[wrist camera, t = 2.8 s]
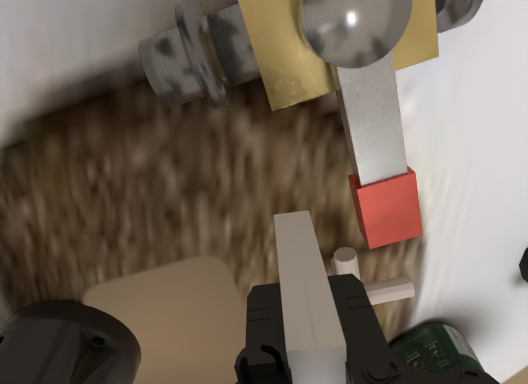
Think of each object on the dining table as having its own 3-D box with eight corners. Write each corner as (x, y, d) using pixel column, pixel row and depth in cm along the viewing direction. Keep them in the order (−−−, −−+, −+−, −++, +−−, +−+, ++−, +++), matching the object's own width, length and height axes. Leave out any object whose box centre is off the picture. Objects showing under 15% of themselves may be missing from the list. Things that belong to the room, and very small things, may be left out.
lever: (285, -26, 14) (290, -33, 12) (387, -65, 13) (406, -77, 12) (349, 234, 20) (357, 252, 19) (420, 214, 20) (435, 231, 18)
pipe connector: (300, 305, 35) (316, 399, 26) (280, 232, 31) (291, 315, 22) (392, 286, 35) (440, 376, 26) (384, 208, 30) (440, 284, 21)
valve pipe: (188, 114, 26) (158, 154, 17) (146, 18, 22) (87, 13, 14) (473, 16, 23) (593, 11, 15) (470, -106, 20) (619, -196, 12)
